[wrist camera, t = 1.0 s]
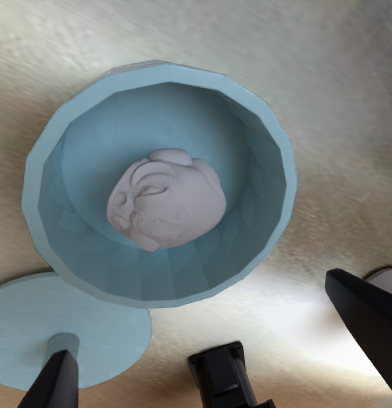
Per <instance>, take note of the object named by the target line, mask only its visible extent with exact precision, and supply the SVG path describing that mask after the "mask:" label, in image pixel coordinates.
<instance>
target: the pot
mask: <svg viewBox="0 0 392 408" xmlns="http://www.w3.org/2000/svg"><path fill="white" fill-rule="evenodd" d="M162 148H180V149H183V150H185V151H186V152H187V153H188V154H189V156H190V157H191V158H199V159H202V160H204V161H205V162H206V163H208V164H209V165H210V166H211V167H212V168H213V169H214V171H215V172H216V174H217V175H218V178H219V180H220V188H221V189H222V191H223V193H224V196H225V200H226V208H225V211H224V214H223V216H222V218H221V219H220V221H219V222H218V223H217V224H216V225H215V226H214V227H213V228H212V229H211V230H210V231H208V232H207V233H205V234H203V235H201V236H199V237H197V238H195V239H193V240H191V241H189V242H187V243H185V244H183V245H181V246H177V247H161V248H160V249H156V250H155V251H154V252H151V251H147V250H144V249H141V248H140V247H138V246H137V245H136V244H135V243H134V242H133V240H131V239H129V238H127V237H126V236H125V235H124V234H123V233H121V232H119V231H117V230H116V229H115V228H114V227H112V225H111V224H110V223H109V221H108V220H107V217H106V208H107V202H108V199H109V197H110V194H111V192H112V191H113V189H114V187H115V186H116V184H117V182H118V181H119V180H120V179H121V177H122V176H123V174H124V173H125V171H126V170H127V169H128V168H129V167H130V166H131V165H132V164H133V163H134V162H135V161H136V160H139V159H140V158H142V157H144V158H148V155H149V154H150V153H151V152H153V151H154V150H157V149H162ZM297 182H298V180H297V174H296V167H295V161H294V154H293V148H292V143H291V140H290V139H289V137H288V136H287V134H286V132H285V131H284V129H283V128H282V126H281V124H280V123H279V121H278V120H277V118H276V116H275V115H274V113H273V111H272V110H271V108H270V107H269V105H268V104H267V103H266V102H265V101H263V100H262V99H260V98H259V97H257V96H256V95H254V94H253V93H252V92H250V91H249V90H247V89H246V88H244V87H243V86H241V85H240V84H238V83H237V82H236V81H234V80H233V79H231V78H230V77H228V76H227V75H224V74H221V73H217V72H213V71H208V70H204V69H200V68H196V67H191V66H186V65H181V64H176V63H171V62H166V61H161V60H151V61H146V62H141V63H134V64H131V65H126V66H121V67H115V68H113V69H111V70H109V71H108V72H106V73H105V74H103V75H102V76H100V77H99V78H97V79H96V80H94V81H93V82H91V83H90V84H88V85H87V86H85V87H84V88H82V89H81V90H79V91H78V92H77V93H76V94H74V95H73V96H72V97H71V98H70V99H68V100H67V101H66V102H65V103H64V104H62V105H61V106H60V107H59V108H58V109H57V110H56V111H55V112H54V114H53V115H52V117H51V118H50V120H49V122H48V123H47V125H46V126H45V128H44V130H43V131H42V133H41V135H40V136H39V138H38V139H37V141H36V143H35V144H34V146H33V147H32V149H31V151H30V152H29V154H28V156H27V158H26V164H25V173H24V183H23V192H22V202H21V207H22V208H21V209H22V212H23V214H24V217H25V220H26V223H27V226H28V229H29V231H30V234H31V237H32V240H33V243H34V246H35V249H36V251H37V252H38V253H39V254H40V255H41V256H42V257H43V259H44V260H45V261H46V262H47V263H48V264H49V265H50V266H51V267H52V268H53V270H54V271H55V272H56V273H57V274H58V275H59V276H60V277H61V278H62V279H63V281H65V282H66V283H68V284H70V285H72V286H74V287H76V288H78V289H79V290H81V291H83V292H85V293H87V294H89V295H91V296H92V297H94V298H96V299H98V300H101V301H104V302H109V303H114V304H118V305H123V306H128V307H133V308H139V309H147V308H167V307H179V306H182V305H185V304H189V303H192V302H196V301H199V300H202V299H206V298H209V297H212V296H214V295H216V294H218V293H219V292H221V291H223V290H225V289H226V288H228V287H230V286H232V285H233V284H235V283H237V282H238V281H240V280H242V279H244V277H246V276H247V275H248V274H249V273H250V272H251V271H252V270H253V269H254V268H255V267H256V266H257V265H259V264H260V263H261V262H262V261H263V260H264V259H265V258H266V257H267V256H268V255H269V254H270V253H271V252H272V250H273V248H274V247H275V245H276V243H277V241H278V240H279V238H280V236H281V234H282V233H283V231H284V229H285V227H286V226H287V224H288V222H289V220H290V217H291V212H292V207H293V203H294V198H295V193H296V189H297V184H298V183H297Z"/></svg>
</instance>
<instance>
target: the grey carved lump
mask: <svg viewBox="0 0 392 408" xmlns="http://www.w3.org/2000/svg"><path fill="white" fill-rule="evenodd" d="M225 208H226V200H225V196H224V193H223V191H222V189H221V188H220V180H219V178H218V175H217V174H216V172H215V171H214V169H213V168H212V167H211V166H210V165H209V164H208V163H206V162H205V161H204V160H202V159H199V158H191V157H190V156H189V154H188V153H187V152H186V151H185V150H183V149H180V148H162V149H157V150H154V151H153V152H151V153H150V154H149V155H148V158H144V157H142V158H140V159H139V160H136V161H135V162H134V163H133V164H132V165H131V166H130V167H129V168H128V169H127V170H126V171H125V173H124V174H123V176H122V177H121V179H120V180H119V181H118V182H117V184H116V186H115V187H114V189H113V191H112V192H111V194H110V197H109V199H108V202H107V208H106V217H107V220H108V221H109V223H110V224H111V225H112V227H114V228H115V229H116V230H117V231H119V232H121V233H123V234H124V235H125V236H126V237H127V238H129V239H131V240H133V242H134V243H135V244H136V245H137V246H138V247H140V248H141V249H144V250H147V251H151V252H154V251H155V250H156V249H160V248H161V247H177V246H181V245H183V244H185V243H187V242H189V241H191V240H193V239H195V238H197V237H199V236H201V235H203V234H205V233H207V232H208V231H210V230H211V229H212V228H213V227H214V226H215V225H216V224H217V223H218V222H219V221H220V219H221V218H222V216H223V214H224V211H225Z"/></svg>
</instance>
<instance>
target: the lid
mask: <svg viewBox="0 0 392 408" xmlns="http://www.w3.org/2000/svg"><path fill="white" fill-rule="evenodd" d="M151 332H152V326H151V317H150V314H149V311H148V309H139V308H133V307H128V306H123V305H118V304H114V303H109V302H104V301H101V300H98V299H96V298H94V297H92V296H91V295H89V294H87V293H85V292H83V291H81V290H79V289H78V288H76V287H74V286H72V285H70V284H68V283H66V282H65V281H63V279H62V278H61V277H60V276H59V275H58V274H57V273H56V272H45V273H38V274H33V275H28V276H24V277H21V278H18V279H15V280H12V281H9V282H7V283H5V284H3V285H0V384H1V385H4V386H7V387H11V388H15V389H19V390H26V391H28V390H29V389H30V387H31V386H32V384H33V382H34V381H35V379H36V378H37V376H38V375H39V373H40V372H41V370H42V369H43V367H44V366H45V364H46V363H47V361H48V360H49V358H50V357H51V355H52V354H53V353H55V352H57V351H60V350H64V349H67V350H69V351H70V353H71V354H72V356H73V357H74V358H75V360H76V361H77V363H78V368H79V387H78V389H81V388H86V387H89V386H93V385H96V384H99V383H102V382H104V381H107V380H109V379H111V378H113V377H115V376H117V375H119V374H121V373H122V372H124V371H125V370H127V369H128V368H129V367H131V366H132V365H133V364H134V363H135V362H136V361H137V360H138V359H139V358H140V357H141V356H142V354H143V353H144V352H145V350H146V348H147V346H148V344H149V341H150V338H151Z"/></svg>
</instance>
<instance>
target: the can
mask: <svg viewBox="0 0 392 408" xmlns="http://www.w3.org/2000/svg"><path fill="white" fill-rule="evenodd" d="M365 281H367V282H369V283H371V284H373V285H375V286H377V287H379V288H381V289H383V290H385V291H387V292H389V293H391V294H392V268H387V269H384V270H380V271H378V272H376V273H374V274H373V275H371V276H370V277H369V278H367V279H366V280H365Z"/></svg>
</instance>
